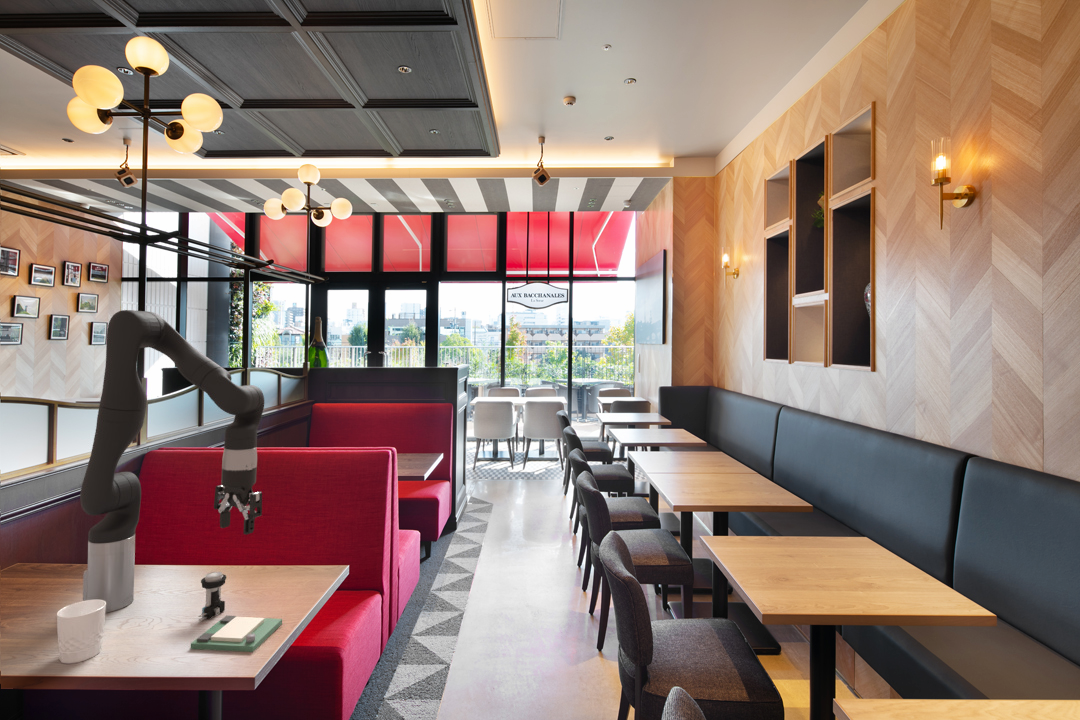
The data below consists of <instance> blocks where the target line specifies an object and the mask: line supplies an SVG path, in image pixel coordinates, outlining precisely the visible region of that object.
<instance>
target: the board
mask: <svg viewBox="0 0 1080 720" xmlns="http://www.w3.org/2000/svg"><path fill="white" fill-rule="evenodd" d="M282 624H283V618H274V617H273V618H271V617H270V618H269V617H251V616H249V617H248V616H237V615H226V616H225V615H224V617H222V618H221V619H219V620H218V622H216V623H214V624H213V625H212V626H211V627H209V629H207V630H206V631H204V632H203V633H202V634H201V635H200V636H198V637H197V638H196V639H194V640H193V641H191V642H190V650H202V651H203V650H206V651H225V652H244V653H247V652H248V653H249V652H250V653H253V652H255V651H256V650H257V649H258V648H259V647H260V646H261V645H262V644H263V643H264V642H265V641H267V639H268V638H269V637H270V636H272V634H273V633H275V631H276V630H278V628H279V627H281V626H282Z"/></svg>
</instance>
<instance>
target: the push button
mask: <svg viewBox="0 0 1080 720" xmlns="http://www.w3.org/2000/svg"><path fill="white" fill-rule="evenodd" d="M226 579H227V575H226V574H223V572H221V571H212V572H209V573H207V574H206V575H205V577H203V578H202V579H200V583H201V587H202V588H203V589H205V605H204V606H203V607H202V608H201V611H202V612H201V614H200V615H198V617H199V619H198V621H200V622H201V621H203V620H210V619H212V618H214V617H215V616H216V617H218V616H219V615H220V613H224V612H225V610H226V609H225V606H226V601H225V600H222V597H221V591H222V586H224V585H225V584H226Z"/></svg>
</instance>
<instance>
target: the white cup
mask: <svg viewBox="0 0 1080 720" xmlns="http://www.w3.org/2000/svg"><path fill="white" fill-rule="evenodd" d="M105 611H106V602H105V601H104V600H86V601H83V600H82V601H78V602H77V601H76V602H75V603H70V604H69V605H66V606H64V607H62V608H61V609H59V610H58V611H57V612H56V626H57V627H56V629H57V630H56V631H57V647H58V659H59V660H58V661H60V662H61V663H62V664H75V663H76V664H77V663H81V662H84V661H87V660H90V659H91V658H94V657H95V656H97V655H98V654H99V653H100V652H101V650H102V647H103V638H104V633H105V632H104V631H105V623H106V612H105Z"/></svg>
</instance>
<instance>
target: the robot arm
mask: <svg viewBox="0 0 1080 720" xmlns="http://www.w3.org/2000/svg"><path fill="white" fill-rule="evenodd" d="M105 345H106V346H105V347H106V349H105V368H104V375H103V383H102V389H101V397H100V400H99V401H100V402H99V405H98V411H97V417H96V426H95V427H96V428H95V432H94V437H93V444H92V448H91V452H90V455H89V456H90V457H89V460H88V464H87V468H86V470H85V474H84V476H83V477H84V478H83V480H82V483H81V487H80V494H79V498H80V500H79V501H80V506H81V509H82V510H83V511H84V513H85V514H87V515H89V516H99V515H104V514H105V516H104V517H103V518H102V519H101V520H100V521H99V522H98V523H96V524H94V525H93V526H92V527H91V528H90V529H89V531H88V536H87V537H88V539H87V569H85V570H84V571H83V576H82V577H83V578H82V579H83V580H82V601H86V600H104V601H105V602H106V611H105V613H109V612H113V611H117V610H121V609H123V608H125V607H127V606H128V605H130V604H132V603H133V601H134V595H135V592H134V591H135V590H134V589H135V564H136V563H135V557H136V555H135V553H136V528H137V526H138V524H139V521H140V512H141V511H140V510H141V502H142V501H141V500H142V487H141V482H140V480H139V477H138V476H137V475H136V474H135V473H133V472H131V471H121V472H116V470H117V467H118V464H119V461H120V459H121V458H122V456H123V454H124V453H125V452H126V450H127V449H128V448H129V446H130V445H131V444H132V442H133V441H135V438H136V437H137V436H138V434H139V433H140V432H141V430H142V428H143V426H144V423H145V417H146V411H147V404H148V403H147V402H148V399H147V394H146V392H145V391H146V390H145V389H144V387H143V384H142V382H141V380H140V377H139V373H138V358H139V352H140V349H143V348H151V349H152V350H154V351H157V352H159V353H161V354H163V355H165V356H166V357H168V358H169V359H170V360H171V361H172V362H173V363H174V365H175V366H176V368H177V370H178V372H179V373H180V374H181V375H182V376H183V378H185V379H186V380H187V381H188V382H190V384H193V385H194V386H195V387H197V388H198V389H200V390H201V391H202V392H204V393H206V395H207V396H208V397H209V398H210V400H211V401H212V402H213V403H214V404H215V405H216V406H217V407H218V408H219V409H220V410H221V411H223V412H224V413H227V414H229V415H232V416H234V418H233V421H232V422H231V423H230V424H228V426H226V428H225V432H224V445H223V454H222V462H221V463H222V464H221V481H220V482H221V484H220V485H216V486H215V489H214V497H213V498H214V500H213V502H214V503H213V509H214V510H218V513H219V527H220V528H221V529H225V528H228V527H230V525H231V510H232V508H233V507H235V508H236V509H238V510H239V512H240V513H242V516H243V518H244V520H243V535H245V536H246V535H247V536H248V535H250V534H253V533H254V530H255V520H256V518H258V517H261V516H262V515H263V492H262V491H257V492H254V491H253V486H254V485H255V484H256V483H257V469H258V450H257V447H258V446H257V444H258V443H257V442H258V429H259V426H260V423H261V420H262V416H263V413H264V412H263V411H264V408H265V397H264V393H263V391H262V390H261V389H260V388H259V387H258V386H257V385H252V384H245V385H237V384H236V383H234V382H233V381H232V379H233V378H232V375H231V373H230V372H229V371H228V370H226V369H225V368H223V367H222V366H220V365H219V364H218V363H216V362H215V361H213V360H212V359H210V358H209V357H207V356H206V355H205V354H203V353H202V352H200V351H199V350H198V349H197V348H196V347H194V346H193V345H192V344H191V343H190V342H189V341H188V340H186V339H185V338H184V337H183V336H182V335H181V334H180V333H179V332H178V331H177V330H176V329H175V328H174V327H173V326H172V325H171V324H170V323H169V322H168V321H167V320H166V319H165V318H163V317H162V316H161V315H159V314H158V313H156V312H152V311H145V310H143V311H142V310H134V309H133V310H132V309H131V310H129V309H124V310H119V311H117V312H115V313H114V314H113V315H112V316H111V318H110V320H109V322H108V324H107V329H106V344H105ZM220 500H221V502H220ZM248 511H249V512H248Z"/></svg>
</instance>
